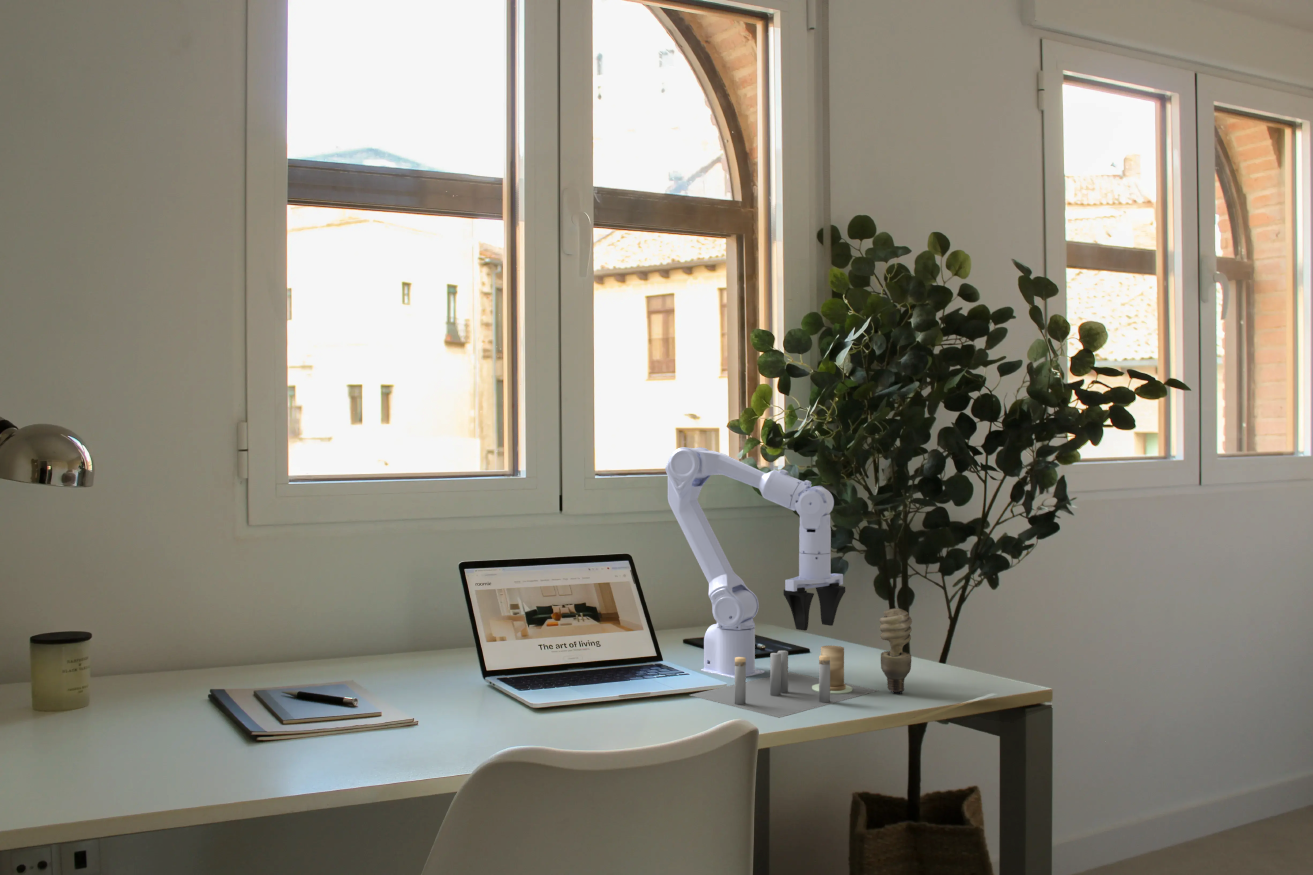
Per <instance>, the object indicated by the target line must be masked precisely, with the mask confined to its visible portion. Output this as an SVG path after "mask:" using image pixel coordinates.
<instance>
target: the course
mask: <svg viewBox="0 0 1313 875" xmlns="http://www.w3.org/2000/svg"><path fill="white" fill-rule="evenodd" d="M769 656H770V658H769V659H770V661H769V662H770V666H769V667H770V670H769V672H770V674H769V676H767V677H763V678H758V679H754V680H750V681H749V680H748V681H747V680H746V679H747V678H746V658H744V657H736V658H735V678H734V684H732V685H731V684H730V685H727V686H722V687H717V688H713V689H710V690H709V689H708V690H704V691H699V692H696V693H692V694H689V696H690V697H695V698H698V699H701V700H706V701H710V702H714V703H717V704H722V705H726V706H731V707H735V708H738V709H742V710H747V711H751V712H755V713H759V714H763V715H767V716H770V717H774V718H779V719H780V718H783V717H787V716H791V715H794V714H798V713H801V712H805V711H809V710H813V709H817V708H820V707H821V708H822V707H823V706H825V707H826V706H827V705H831V704H836V703H839V702H842V701H847V700H849V699H850V700H851V699H853V698H858V697H860V696H865V695H869V694H872V693H876V692H879V691H880V690H878V689H874V688H869V687H865V686H860V685H859V686H858V685H854V684H850V683H845V682H844V684H846V685H847V686H850V687H852V692H850V693H846V694H830V656H826V655H821V654H820V655H819V656H818V662H819V663H818V675H819V676H818V677H816V676H812V675H811V676H810V675H806V674H801V673H796V672H792V671H789V651H787V650H778V651H777V652H771V653H770V655H769ZM816 684H819V692H816V691H813V690H812V686H813V685H816Z"/></svg>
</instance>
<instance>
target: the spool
mask: <svg viewBox="0 0 1313 875" xmlns="http://www.w3.org/2000/svg"><path fill="white" fill-rule="evenodd" d="M821 655H826V656H830V691H841V690H845V689H846V684H847V683H845V647H844V646H841V645H840V646H839V645H823V646H821V647H820V656H821ZM844 683H845V684H844Z"/></svg>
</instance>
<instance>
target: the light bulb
mask: <svg viewBox="0 0 1313 875" xmlns="http://www.w3.org/2000/svg"><path fill="white" fill-rule="evenodd" d="M883 616H884V617H883ZM883 616H881V617H880V618H879V623H880V626H879V631H880V632H881V634H880V639H881V640H883V641H884V640H885V641H888V642H889V646H890V650H886V651H882V652H881V653H880V669H881V670H882V671H881V672H883V675H884V676H885V677H886V680H887V681H886V682H887V689H888V691H890V692H891V693H893V694H896V695H901V694H902V692H904V691H905V683H904V682H905V679H906V678H907V676H908V675H909V673H911V670H912V654H910V652H909V653H908V652H906V651H903V648H904V646H905V645H906V644H909V643H910V641H911V640H912V636H911V633H912V626H911V625H912V623H913V619H912V617H911V616H910V614H909V612H907V610H904V609H902V608H897V607H895V608H890V609H886V610H884V611H883Z"/></svg>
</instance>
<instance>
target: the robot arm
mask: <svg viewBox="0 0 1313 875" xmlns="http://www.w3.org/2000/svg"><path fill="white" fill-rule="evenodd" d="M664 469H665V472H666V475H667V501H668V505H669V507H670V509H671V511H672V513H673V515H674V517H675V518H676V521H677V523H678V525H679V527H680V529H681V531H682V533H683V534H684V537H685V539H686V541H687V543H688V545H689V547H690V549H691V551H692V553H693V555H694V557H695V558H696V561H697V563H698V565H699V567H700V569H701V571H702V573H703V574H704V577H705V579H706V581H707V582H708V598H709V599H710V601H711V606H712V608H711V609H712V610H711V612H712V616H713V618H714V620H715V622H716V623H714V624H711V625H709V627H708V628H707V630H706V631H705V634H704V637H703V668H701V669H700V671H701V672H705V673H709V674H713V675H717V676H721V677H722V676H723V677H726V678H727V677H728V678H732V679H735V658H736V657H744V658H746V677H747V678H748V677H751V676H755V675H760V674H765V670H762V669H757V668H755V667H756V665H755V664H756V662H755V661H756V660H755V658H756V656H755V655H756V653H755V652H756V649H755V648H756V646H755V644H756V638H755V637H756V623H755V621H754V618H755V617H756V615H757V614H758V611H759V608H760V606H759V604H760V603H759V599H758V596H757V595H756V594H755V593H754V592H753V591H751V590H750V589H749V587H748V586H747V585H746V583H745V582H744V580H743V578H741V577H740V576H739V575H738V574H736V573H735V572H734V571H735V570H734V569H733V567H732V566H731V564H730V562H729V560H728V558H727V555H726V554H725V552H724V550H723V548H722V546H721V544H720V542H719V540H718V538H717V536H716V534H715V532H714V530H713V529H712V526H711V525H710V522H709V520H708V518H707V516H706V514H705V512H704V510H703V508H702V506H701V504H700V503H699V500H698V499H699V497H700V494H701V490H702V489H703V486H704V485H705V483H706V482H707V481H708V480H709V478H710V477H711V476H717V475H723V476H725V477H728V478H730V479H732V480H736V481H738V482H740V483H743V484H746V485H749V486H751V487H753V488H757V489H758V490H759V492H760V494H761V496H762V499H763V498H764V499H765V500H767V501H769V502H772V503H774V504H777V505H779V506H781V507H784V508H786V509H788V510H791V511H794V512H795V511H796V513H797V514H798V515H799V528H798V535H799V537H798V538H799V539H798V543H799V544H798V549H799V550H798V552H799V553H798V576H795V577H792V578H788V579H785V581H784V582H785V584H784V587H785V588H784V589H783V592H782V593H783V594H782V595H783V596H784V598H785V600H786V602H787V603H788V606H789V608H790V610H791V614H792V618H793V622H794V626H795V629H796V630H799V631H803V632H804V631H805V632H806V631H807V630H808V628H809V619H810V618H809V616H810V610H811V609H810V608H811V605H812V602H813V598H814V596H815V593H813V592H807V590H808V589H815V590H816V594H817V596H818V601H819V608H820V609H819V610H820V621H821V625H824V626H831V627H832V626H834V622H835V618H836V615H837V611H838V608H839V605H840V602H841V600H842V598H843V596H844V594H845V593H846V586H842V585H844V574H843V573H832V572H831V564H832V562H831V557H832V555H831V554H832V553H831V550H832V549H831V548H832V547H831V546H832V545H831V544H832V542H831V539H832V531H831V530H832V529H831V512H832V511H833V509H834V505H835V499H834V496H833V495H832V493H831V492H830V491H829V490H828V489H826V488H825V487H823V486H822V485H815V486H812V481H810V480H807V479H806V480H800V479H799V478H796V477H793V476H791V475H789V471H788V470H786V469H779V470H777V469H773V470H771V471H768V472H765V471H762V470H759V469H757V468H755V467H753V466H751V465H749V464H746V463H745V462H742V461H740V460H738V459H737V458H734V457H731V456H729V455H727V454H725V453H722V452H719V451H715V450H709V449H708V448H706V447H702V446H701V447H700V446H699V447H694V448H693V447H687V446H685V447H683V446H682V447H679V448H676V449H675V450H674V451H673V452H671V455H670V456H669V458H668V461H667V463H666V466H665V468H664Z"/></svg>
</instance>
